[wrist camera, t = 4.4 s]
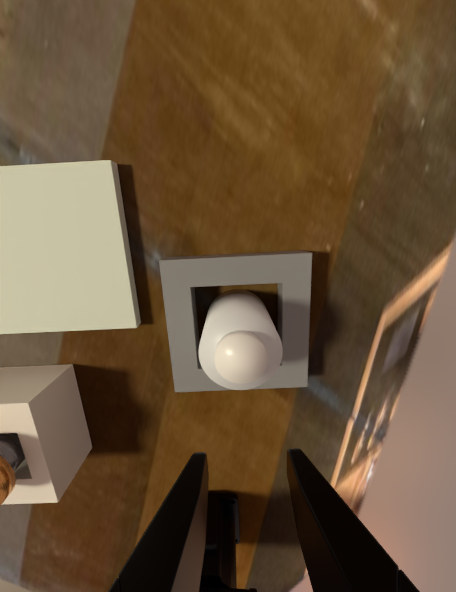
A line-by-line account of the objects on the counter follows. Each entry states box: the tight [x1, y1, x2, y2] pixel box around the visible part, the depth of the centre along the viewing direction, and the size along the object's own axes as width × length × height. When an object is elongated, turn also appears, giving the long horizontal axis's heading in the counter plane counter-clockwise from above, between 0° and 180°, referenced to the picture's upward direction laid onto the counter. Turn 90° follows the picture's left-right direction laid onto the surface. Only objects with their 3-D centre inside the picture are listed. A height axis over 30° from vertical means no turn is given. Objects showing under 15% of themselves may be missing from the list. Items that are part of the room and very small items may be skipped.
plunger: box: [0, 433, 26, 505], centre depth 19 cm, size 5×5×6 cm
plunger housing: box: [0, 364, 92, 504], centre depth 21 cm, size 9×7×5 cm
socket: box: [159, 250, 312, 392], centre depth 20 cm, size 11×11×2 cm
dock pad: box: [0, 160, 141, 334], centre depth 19 cm, size 12×12×1 cm
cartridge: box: [199, 289, 283, 390], centre depth 17 cm, size 5×5×7 cm
